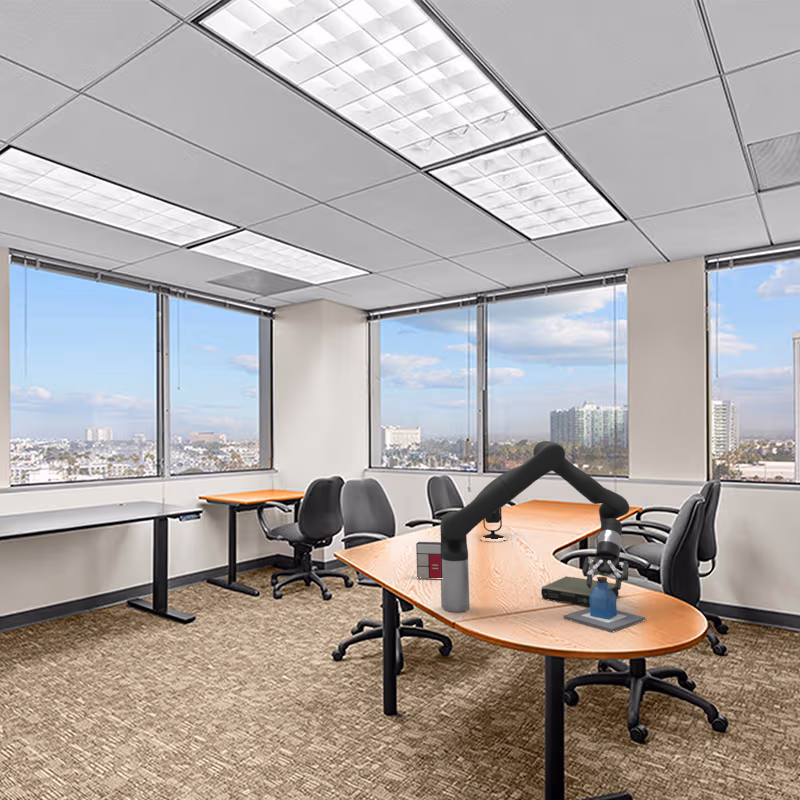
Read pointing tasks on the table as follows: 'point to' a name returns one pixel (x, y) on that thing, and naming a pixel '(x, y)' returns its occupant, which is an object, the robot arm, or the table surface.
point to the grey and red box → (429, 560)
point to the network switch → (571, 590)
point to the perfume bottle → (603, 600)
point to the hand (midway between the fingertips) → (602, 588)
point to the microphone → (494, 518)
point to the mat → (604, 620)
